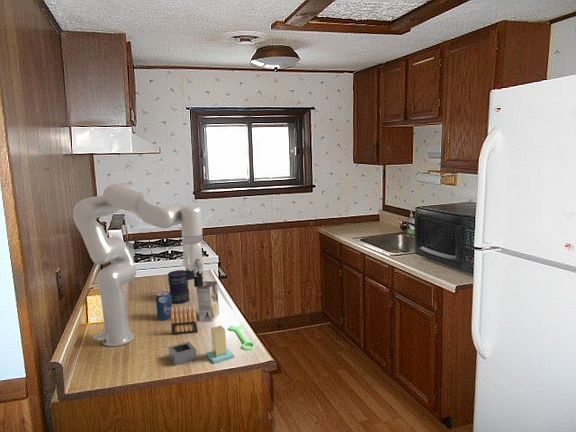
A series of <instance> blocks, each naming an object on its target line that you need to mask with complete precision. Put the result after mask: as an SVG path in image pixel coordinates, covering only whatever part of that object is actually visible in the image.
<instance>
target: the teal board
mask: <svg viewBox="0 0 576 432" xmlns="http://www.w3.org/2000/svg"><path fill="white" fill-rule="evenodd" d="M226 352H227V355H223V356H220V357H216V356H215V355H214V354H213V351H211V350H210V351H208V352H205V356H206V357H207V358H208V359H209V360H210V362H212V363H213V364H218V363H221V362H225V361H227V360H231V359H235V355H234V353H232V351H231V350H229V349H228V348H227V347H226Z"/></svg>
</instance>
